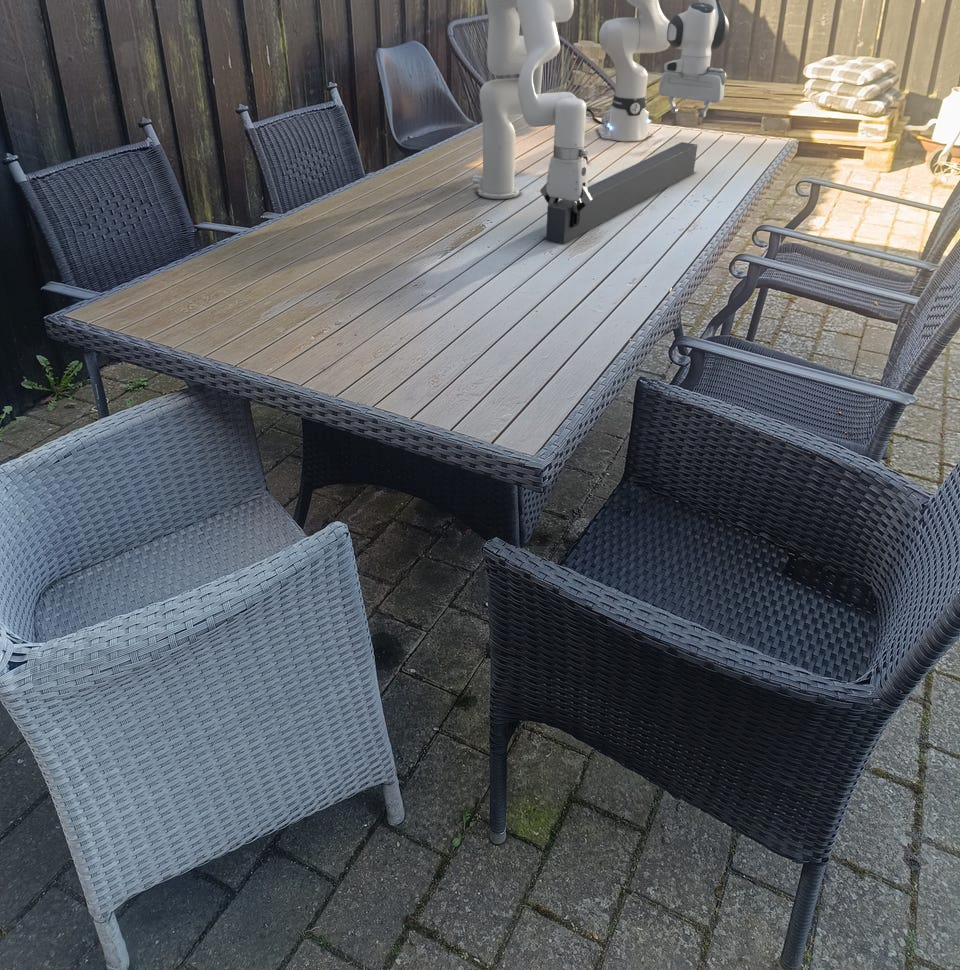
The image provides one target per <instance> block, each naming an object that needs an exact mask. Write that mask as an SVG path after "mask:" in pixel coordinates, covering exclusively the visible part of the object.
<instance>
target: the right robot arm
mask: <svg viewBox="0 0 960 970" xmlns="http://www.w3.org/2000/svg"><path fill="white" fill-rule="evenodd" d="M626 2H628V4H629V5H631V6H633V7H634V8H636V9H638V12H639V16H638V17H615V18H611V19H608V20H605V21H604V22H603V24H602V25H601V26H600V29H599V33H598V42H599V45H600V47H601V49H602V50H603V51H604V52H605V53H606V54H607V55H608V56H609V58H610V60H611V61H612V64H613V66H614V70H615V71H614V72H615V90H614V94H613V98H612V101H611V107H610V108H609V109H608V110H607V111H606V113H605V114H604V116H602V117H601V120H599V119H597V118H596V115H595V113H594V112H593V110H591V108H586V113H590V115H591V116H592V117H591V119H592V120H593V121H594V122H595V123H598V124H600V125H599V126H597V132H598V134H599V135H600V137H601V138H602V139H603V140H613V141H620V142H638V141H643V140H646V138H649V137H651V136H652V135H651V134H652V133H651V132H650V131H649V123H651V120H650V119H649V111H647V110H646V107H647V102H648V100H647V99H648V96H647V87H648V78H649V75H648V71H647V69H646V68H645V67H644V66H642V65H641V64H640V63H637V62H636V61H634V54H656V53H660V52H664V51H667V50H668V49H669V48H670V46H671V48H673V49H677V50H681V54H680V58H676V59H673V60H670V61H668V62H665V63H664V66H663V70H664V71H663V72H662V74H661V76H660V81H659V85H658V93H659V95H660V96H661V97H667V98H668V102H669V105H670V108H671V109H670V113H672V114H678V111H679V110H678V109H679V106H677V105H676V102H675V101H676V100H677V99H682V100H683V99H684V100H690V101H698V102H704V103H703V106H704V107H703V109H701V110H699V114H698V117H700V118H705V117H706V116H707V112H708V110H709V108H710V106H712V103H714V104H718V103H721V102H722V101H723V100H724V98H725V88H726V87H725V84H726V82H727V72H726V71H725V70H724V69H723V68H721V67H720V68H719V67H718V68H716V67H711V61H712V60H711V59H712V50H714V51H715V50H717V49H719V48H720V47H721V46H722V45H723V44H724V43H725V42H726V41H727V39H728V38H729V34H730V23H729V20H728V17H727V16H726V14H725V12H724V10H723V8H722V5H721V2H720V0H698V2H693V3H691V4H689V6H688V8H687V10H685V11H684V12H681V13H679V14H675V15H674V16H672V18H671V19H670V20H669V19H668V18H667V17H666V16H665V14H664V13H663V11H662V9H661V6H660V3H659V2H660V1H659V0H626Z"/></svg>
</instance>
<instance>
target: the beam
mask: <svg viewBox="0 0 960 970" xmlns="http://www.w3.org/2000/svg"><path fill="white" fill-rule="evenodd" d="M697 150H698V144H696V143H690V142H684V141H681V142H679V143H677V144H675V145H673V146H670V147H668V148H667V149H664V150H662V151H660V152H658V153H656V154H654V155H652V156H650V157H647V158H645V159H643V160H641V161H639V162H637V163H635V164H632V165H631V166H629V167H627V168H624V169H622V170H621V171H618V172H616V173H613V174H612V175H610V176H608V177H606V178H604V179H601V180H600V181H597V182H595V183H593V184H591V185H588V192H589V194H590V196H591V197H592V201H591V202H590V203H589V204H587V205H586V206H585V207H584V208H583V209H582V210H581V211H580V222H579V224H578V225H577V226H575V227H574V228H572V227H570V225H571V213H572V212H573V207H572V203H571V201H570V200H565V199H559V200H558V202H556V203H554V204H551V205H549V206H548V205H547V209H546V212H547V213H546V231H545V240H546V241H551V242H555V243H559V244H563V245H564V244H567V242H569V241H572V240H574V239H575V238H577V237H579V236H580V235H582V234H584V233H587V232H588V231H590V230H592V229H593V228H595V227H597V226H599V225H601V224H603V223H605V222H606V221H608V220H610V219H612V218H614V217H615V216H617V215H619V214H621V213H623V212H625V211H626V210H628V209H630V208H633V207H634V206H636V205H637V204H639V203H641V202H643V201H645V200H646V199H649V198H650V197H652V196H654V195H656V194H657V193H659V192H661V191H664V190H665V189H667V188H668V187H670V186H673V185H674V184H676V183H678V182H679V181H681V180H683V179H685V178H687V177H688V176H690V175H692V174H694V173H695V166H696V165H695V164H696V158H697ZM583 201H584V198H581V203H582V202H583Z"/></svg>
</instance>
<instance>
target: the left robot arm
mask: <svg viewBox="0 0 960 970" xmlns="http://www.w3.org/2000/svg"><path fill="white" fill-rule="evenodd" d="M574 2H575V1H574V0H485V5H486V10H487V16H488V26H487V27H488V29H487V30H488V31H487V47H486V66H487V69H488V71H489V73H491V74H492V75H494V76H511V75H512V76H515V75H519V76H518V77H512V78H511V77H509V78H508V77H507V78H496V79H491V80H488V81H486V82H485V83H484V84H483V85H482V86H481V87H480V90H479V105H480V111H481V118H482V176H481V175H477V174H474V175H473V176H472V184H476V185H479V187H478V188H477V195H479V196H480V197H483V198H485V199H489V200H507V199H512V198H515V197H518V196H519V194H520V188H519V187H518V186H515V176H516V175H515V174H516V173H515V172H516V171H515V170H516V168H515V167H516V130H515V128H514V125H513V124H512V122H511V121H510V119H509V116H513V115H515V116H516V115H522V116H523V118H524V121H525V123H526V124H527V125H528V126H530V127H534V128H537V127H538V128H539V127H549V126H554V134H553V136H554V137H553V150H552V151H553V155H552V156H550V160H549V164H548V169H547V175H546V177H547V178H546V183H545V184H544V185H543V186H542V187H541V188H540V189H539V193H541V195H542V197H544V200H545V201H546V203H547V207H548V206H549V205H551V204H554V203H556V202H558V201H560V200H562V199H565V200H570V201H571V203H572V207H573V212H572V213H571V225H570V227H572V228H574V227H575V226H577V225H578V224H579V222H580V211H581V210H582V209H583V208H584V207H585V206H586V205H587V204H589V203H590V202H591V201H592V197H591V196H590V194H589V192H588V187H589V183H588V182H589V175H588V173H589V172H588V162H587V163H586V159H585V158H583V157H584V156H587V157H588V153H589V152H588V150H585V134H586V118H587V112H586V109H587V103H586V102H585V101H584V100H583V99H581V98H578V97H577V96H576V95H574V93H572V92H570V91H558V92H544V93H541V91H542V80H543V72H544V65H545V64H546V63H548V62H550V61H551V60H553V59H554V58H555V57H557V55H558V54H559V53H560V52H561V51H560V50H561V42H560V38H559V33H558V29H557V24H558V23H566V22H568V21H569V20H570V19H571V18H572V16H573V14H574V8H575V3H574ZM516 8H517V9H516ZM556 23H557V24H556ZM520 29H521V33H522V35H520ZM581 198H584V201H583V202H582V203H581Z"/></svg>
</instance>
